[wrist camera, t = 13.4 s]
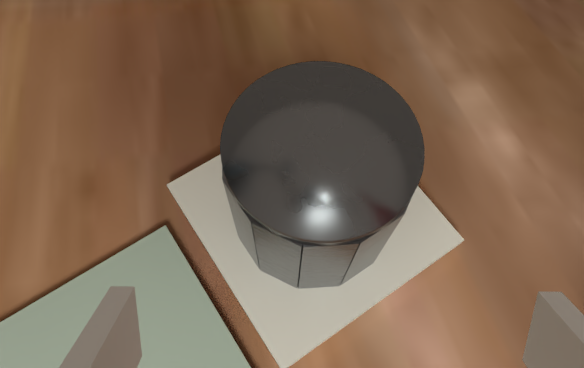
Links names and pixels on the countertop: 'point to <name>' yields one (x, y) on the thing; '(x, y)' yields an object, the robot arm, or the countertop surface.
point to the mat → (150, 308)
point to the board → (308, 301)
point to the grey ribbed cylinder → (319, 170)
